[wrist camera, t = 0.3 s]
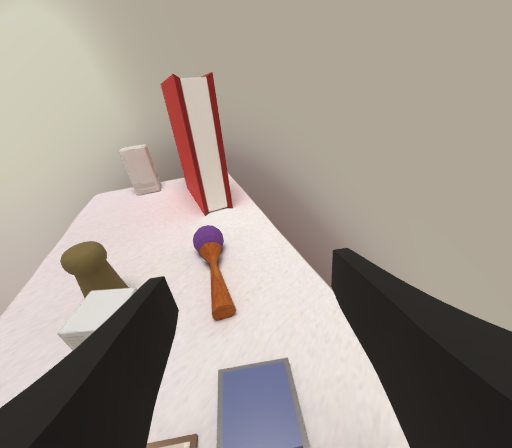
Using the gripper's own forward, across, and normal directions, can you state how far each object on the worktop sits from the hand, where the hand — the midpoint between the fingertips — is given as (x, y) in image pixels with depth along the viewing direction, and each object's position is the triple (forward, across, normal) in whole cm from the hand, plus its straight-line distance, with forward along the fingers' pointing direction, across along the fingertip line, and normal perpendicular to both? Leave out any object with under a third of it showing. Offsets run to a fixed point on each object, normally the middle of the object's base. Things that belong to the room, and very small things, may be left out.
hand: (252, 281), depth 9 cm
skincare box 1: (+13, +19, +19) cm, 30 cm away
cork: (+20, +25, +18) cm, 37 cm away
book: (+61, +14, +17) cm, 65 cm away
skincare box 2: (+72, +36, +15) cm, 82 cm away
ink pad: (+3, +2, +20) cm, 21 cm away
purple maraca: (+24, +8, +19) cm, 32 cm away
